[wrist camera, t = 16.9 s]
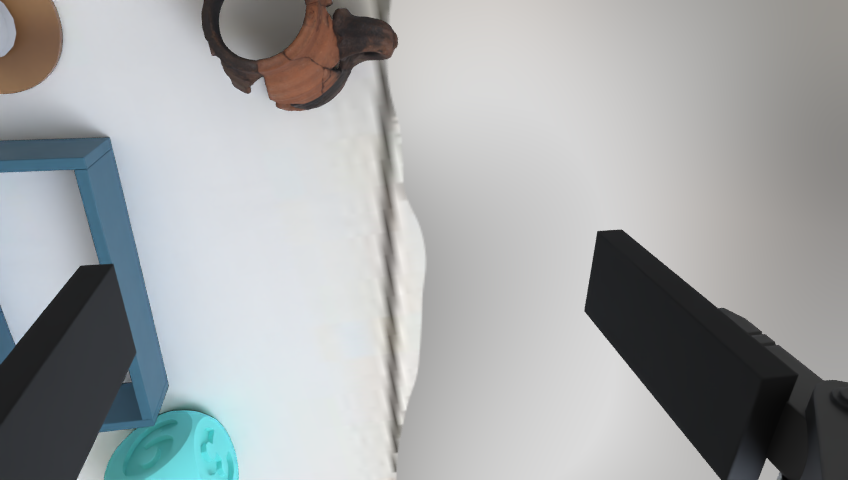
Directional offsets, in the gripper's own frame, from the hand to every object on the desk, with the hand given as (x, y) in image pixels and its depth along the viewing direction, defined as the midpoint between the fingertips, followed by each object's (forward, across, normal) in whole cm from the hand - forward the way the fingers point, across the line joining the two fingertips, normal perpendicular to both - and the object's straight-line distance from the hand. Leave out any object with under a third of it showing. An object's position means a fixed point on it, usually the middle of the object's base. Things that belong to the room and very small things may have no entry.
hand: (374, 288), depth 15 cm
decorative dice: (+29, -16, -32) cm, 46 cm away
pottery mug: (+29, -2, +4) cm, 29 cm away
